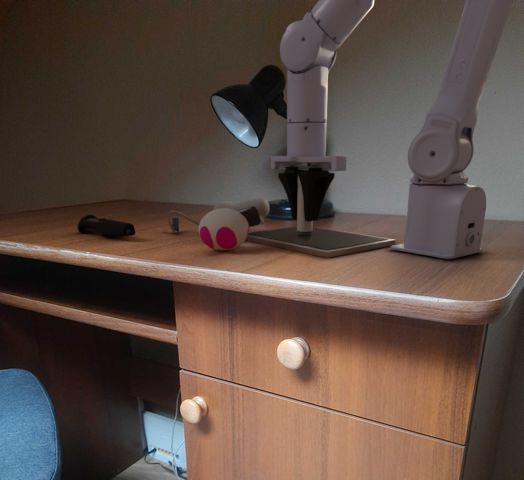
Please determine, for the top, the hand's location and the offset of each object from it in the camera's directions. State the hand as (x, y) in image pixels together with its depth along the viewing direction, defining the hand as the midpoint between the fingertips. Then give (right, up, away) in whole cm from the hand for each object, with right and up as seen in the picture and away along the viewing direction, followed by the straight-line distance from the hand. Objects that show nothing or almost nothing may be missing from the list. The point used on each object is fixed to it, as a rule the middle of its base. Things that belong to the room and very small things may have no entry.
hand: (305, 219), depth 76 cm
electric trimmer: (-33, -1, +8) cm, 34 cm away
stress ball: (-12, -6, -6) cm, 15 cm away
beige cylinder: (0, -2, +1) cm, 2 cm away
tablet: (+1, -4, 0) cm, 4 cm away
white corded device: (-15, 0, +8) cm, 17 cm away
